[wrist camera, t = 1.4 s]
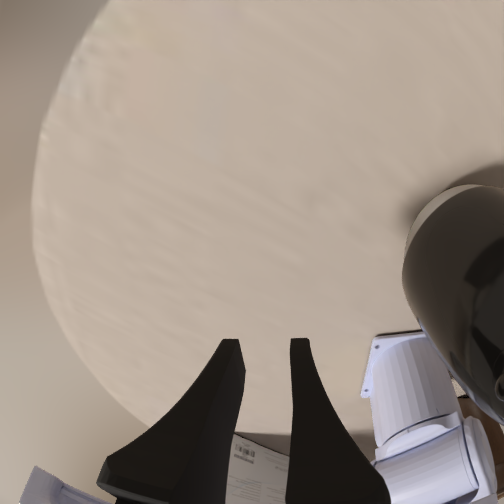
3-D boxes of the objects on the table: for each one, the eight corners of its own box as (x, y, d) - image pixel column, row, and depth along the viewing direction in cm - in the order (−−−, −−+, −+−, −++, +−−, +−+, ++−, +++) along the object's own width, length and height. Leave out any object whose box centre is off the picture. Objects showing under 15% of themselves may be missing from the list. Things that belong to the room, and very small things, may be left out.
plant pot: (512, 392, 29) (540, 476, 15) (438, 444, 37) (450, 522, 23) (469, 372, 26) (504, 490, 13) (378, 435, 34) (385, 536, 21)
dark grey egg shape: (442, 130, 15) (632, 299, 2) (520, 212, 17) (627, 358, 4) (357, 251, 20) (400, 478, 8) (445, 300, 22) (499, 463, 10)
